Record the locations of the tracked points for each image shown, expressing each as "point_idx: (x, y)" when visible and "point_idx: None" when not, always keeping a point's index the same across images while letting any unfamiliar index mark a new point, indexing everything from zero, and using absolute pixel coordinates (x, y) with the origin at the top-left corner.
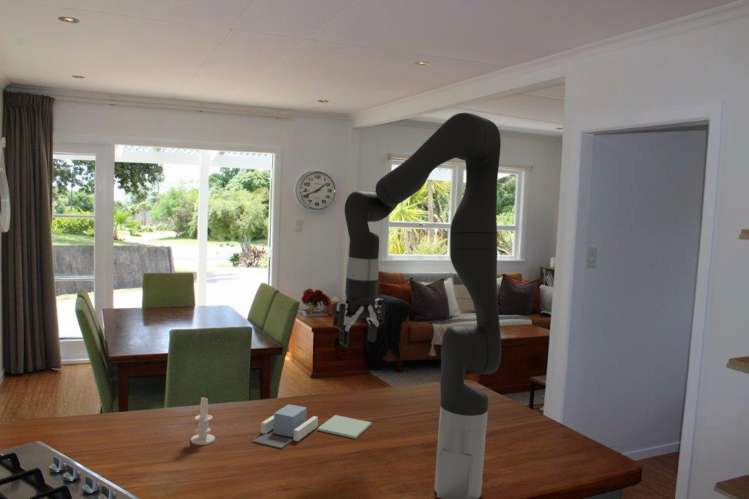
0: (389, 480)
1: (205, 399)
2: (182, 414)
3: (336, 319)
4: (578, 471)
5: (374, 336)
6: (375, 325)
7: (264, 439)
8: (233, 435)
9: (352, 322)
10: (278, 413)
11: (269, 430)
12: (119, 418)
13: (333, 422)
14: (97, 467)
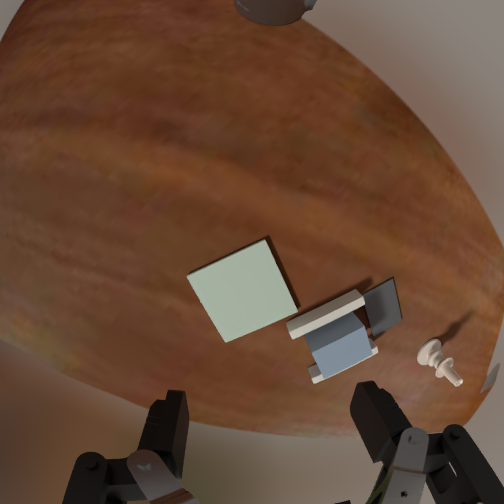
0: (334, 78)
1: (461, 379)
2: None
3: (446, 481)
4: None
5: (173, 408)
6: (160, 460)
7: (389, 317)
8: (399, 350)
9: (405, 469)
10: (369, 350)
11: None
12: (427, 422)
13: (254, 317)
14: (499, 329)
